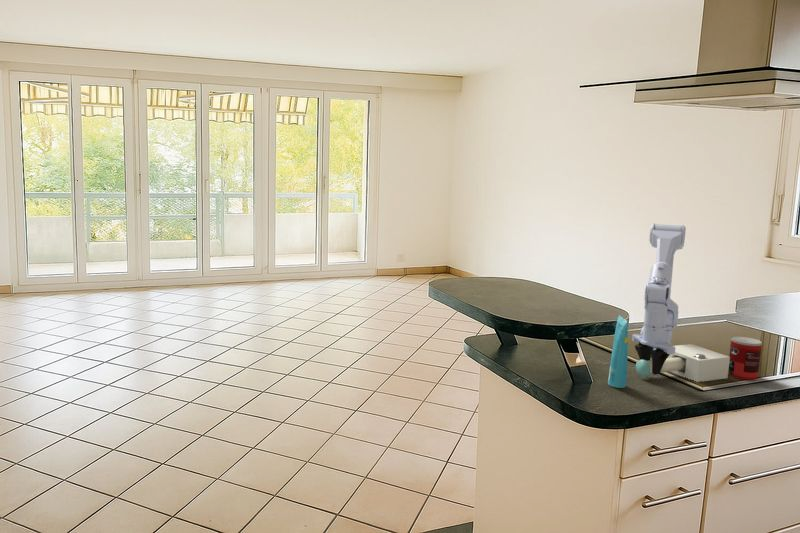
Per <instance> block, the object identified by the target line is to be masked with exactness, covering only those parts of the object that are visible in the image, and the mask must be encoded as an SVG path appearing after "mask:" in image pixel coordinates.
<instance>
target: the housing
mask: <svg viewBox="0 0 800 533" xmlns="http://www.w3.org/2000/svg"><path fill="white" fill-rule="evenodd" d="M673 346H674V347H675V354H670V355H669V356H668V358H676V357H683V358H685V359H686V367H685V370H678V371H670V373H673V374H675V375H678V376H680V377H682V378H685V377H686V378H685V379H687V378H688V379H687V380H690V379H691V381H692V380H694V381H693V382H695V381H696V383H700V381H702V382H708V381H717V380H723V379H728V377H729V376H728V375H729V374H728V369H729V361H730V357H729V355H725V354H722V353H720V352H716V351H713V350H710V349H707V348H704V347H701V346H698V345H695V344H693V343H687V344H678V345H673ZM696 354H703V355H705V359H698V358H696Z"/></svg>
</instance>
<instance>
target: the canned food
mask: <svg viewBox="0 0 800 533" xmlns="http://www.w3.org/2000/svg"><path fill="white" fill-rule="evenodd" d="M762 346H763V343H762V341H761V340H759V339H756V338H752V337H746V336H733V337H731V339H730V346H729V355H728V356H729V357H730V361H729V369H728V375H729V376H730V377H732V378H735V379H738V378H739V380H743V379H744V380H745V381H755V380H757V379H758V377H759V370H760V364H761V355H762V349H763V348H762ZM754 379H755V380H754Z"/></svg>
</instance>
